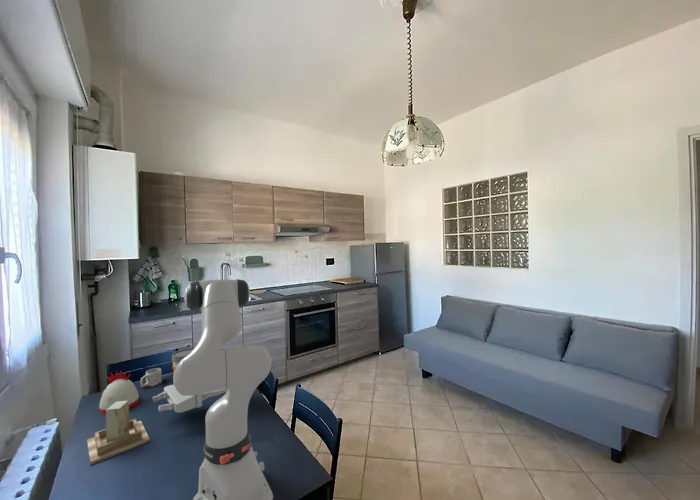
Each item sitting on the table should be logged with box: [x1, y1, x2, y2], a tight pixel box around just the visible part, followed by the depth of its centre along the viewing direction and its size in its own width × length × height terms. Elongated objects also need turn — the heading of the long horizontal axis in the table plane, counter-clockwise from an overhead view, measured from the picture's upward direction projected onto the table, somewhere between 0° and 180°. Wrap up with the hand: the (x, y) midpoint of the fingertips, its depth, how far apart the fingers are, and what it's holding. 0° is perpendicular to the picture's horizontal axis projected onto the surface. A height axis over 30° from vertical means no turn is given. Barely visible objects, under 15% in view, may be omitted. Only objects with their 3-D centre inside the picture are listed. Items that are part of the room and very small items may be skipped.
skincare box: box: [105, 401, 130, 443], centre depth 107 cm, size 6×4×12 cm
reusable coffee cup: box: [171, 348, 194, 373], centre depth 155 cm, size 13×13×15 cm
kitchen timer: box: [98, 370, 140, 415], centre depth 133 cm, size 14×14×15 cm
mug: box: [139, 367, 163, 388], centre depth 152 cm, size 10×7×7 cm, turn 159°
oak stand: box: [86, 417, 151, 466], centre depth 107 cm, size 16×16×4 cm
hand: (155, 404), depth 115 cm, fingers open, 8 cm apart
